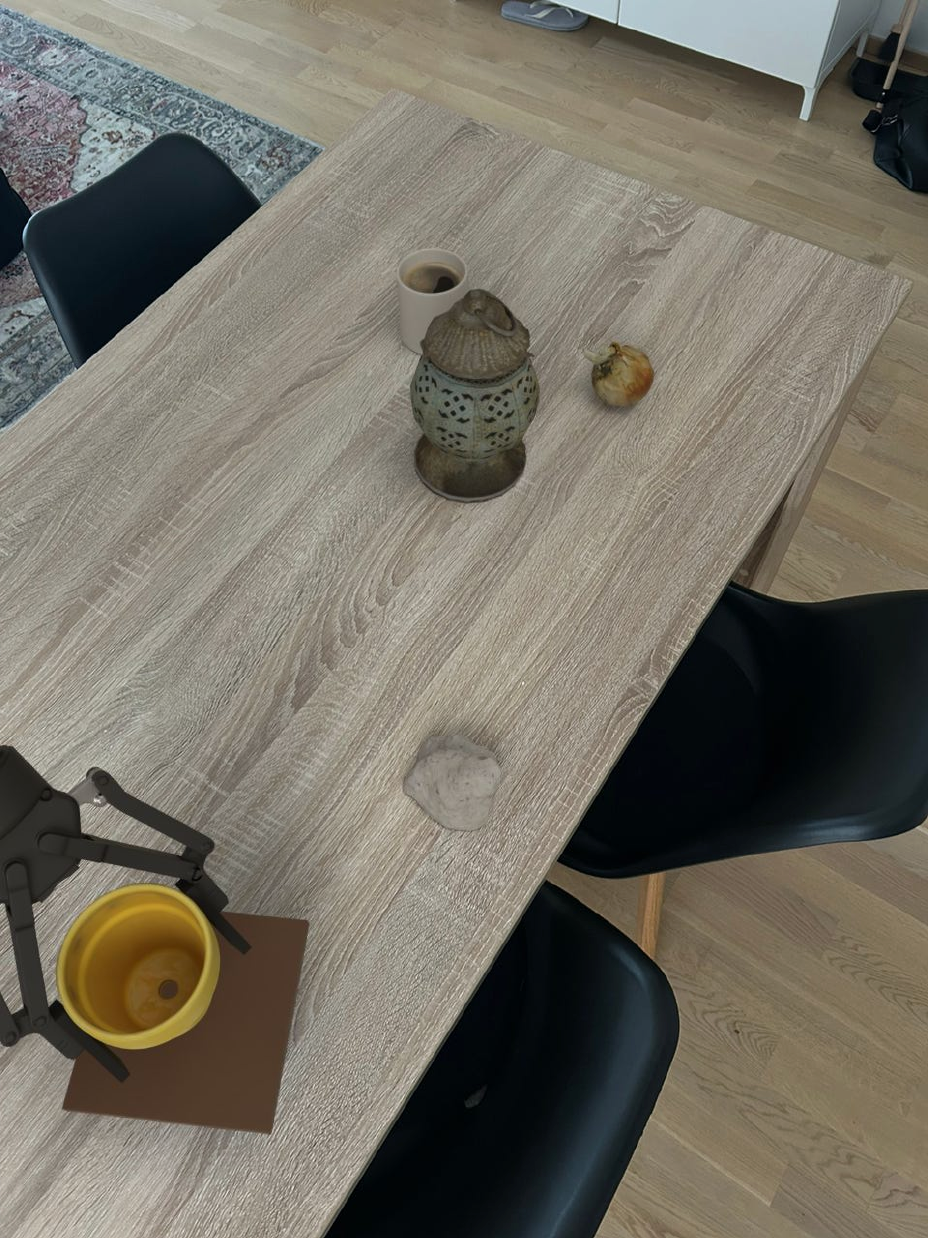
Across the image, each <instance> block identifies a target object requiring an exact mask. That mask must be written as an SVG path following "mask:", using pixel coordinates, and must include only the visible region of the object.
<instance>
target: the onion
mask: <svg viewBox="0 0 928 1238" xmlns="http://www.w3.org/2000/svg"><path fill="white" fill-rule="evenodd" d="M603 346H604V349H603V351H602V353H600V352H597V351H594V350H592V349H590V348H589V347H587V348H585V349H584V350H583V353H582V354H583V357H584V358H585V359H587V361H589V362H590V363H592V364H593V367H592V369H591V373H590V375H591V384H592V388H593V390H594V392H595V394H596V396H597V397H599V399H600V400H602V401H603V402H604V403H606V404H608V405H610V406H612V407H613V406H614V407H627V406H631V405H635V404H636V403H638V402H640V401H641V400H642V399H643V398H644V397H645V398H646V395H647V394H648V392H649V391H650V390H651V387H652V386H653V383H654V380H655V379H654V378H655V371H654V368H653V366H652V363H651V361H650V359H649V357H648V355H646V353H644V352H643V350H641V349H638V348H636V347H634V346H633V345H629V344H624V345H622V344H621V343H620V342H617V341H611V342H610V343H609V345H607V344H604V345H603Z"/></svg>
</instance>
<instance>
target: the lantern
mask: <svg viewBox="0 0 928 1238" xmlns="http://www.w3.org/2000/svg"><path fill="white" fill-rule="evenodd" d="M530 339H531V333H530V330H529V328H526V326H524V324H523V323H522V322H521V321H520V319H518V318H517V317H515V315H514V313H513V311H512V310H511V309H510V307H508V306H507V304H506V303H505V302H504V301H502V300H501V299H500V298H499V297H498V296H496V295H495V294H493V293H491V292H490V291H488V290H486V289H483V288H475V289H471V290H468V292H467V293H466V295H465V296H464V297H463V298H461V299H460V300H458V301H457V302H455V304H454V305H453V306H452V307H451V308H450V309H449V311H447V312H445V313H443V314H440V315H438V316H436V317H434V319H433V321H432V322H431V324H430V325H429V327H428V329H427V332H426V335H425V338H424V339H423V340H421V341H420V346H421V348H422V351H423V354H422V355H421V354H420V356H419V360H418V362H417V365H416V368H415V370H414V373H413V376H412V378H411V381H410V384H409V393H410V394H409V395H410V403H411V404H410V405H411V409H412V415H413V420H414V421H415V422H416V424H417V425H418V427H419V428H420V430H421V431H422V433H423V434H422V435H421V437H420V438H419V439H418V440H417V442H416V446H415V449H414V452H413V461H414V471H415V473H416V475H417V477H418V478H419V480H420V482H421V484H422V485H423V486H425V487H426V489H428V490H429V491H430V492H431V493H432V494H434V495H436V496H438V497H441V498H443V499H445V500H448V501H451V502H456V503H462V504H475V503H485V502H488V501H491V500H494V499H497V498H499V497H502V496H503V495H505V494H506V493H508V492H509V491H510V490H511V489H513V488H514V487H516V485H517V484H518V482H519V480H520V479H521V478H522V477H523V474H524V471H525V467H526V462H527V454H526V453H527V452H526V443H524V441H523V438H524V436H525V434H526V433H527V431H528V429H529V427H530V426H531V425H532V424H531V423H532V422H533V420H534V419H535V416H536V413H537V410H538V408H539V405H540V396H541V395H540V394H541V393H540V392H541V391H540V390H541V389H540V388H541V387H540V383H539V379H538V376H537V373H536V369H535V368H534V365H533V363H532V360H531V358H535V356H536V355H535V354H534V353H533V352H529V351H528V350H529V348H530V346H531V340H530Z"/></svg>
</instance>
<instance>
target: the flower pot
mask: <svg viewBox="0 0 928 1238" xmlns="http://www.w3.org/2000/svg"><path fill="white" fill-rule="evenodd" d="M58 950H59V951H58V953H57V954H58V955H57V958H56V968H55V982H56V989H57V993H58V997H59V999H60V1000H59V1001H60V1003H61V1004H62V1005H63V1006H64V1009H65V1010H66V1012H67V1013H68V1015H69V1016H70V1018H71V1019H72V1020H73V1021H74V1022H75V1023H76V1024H77V1025H78V1026H79V1027H80V1028H81V1029H82V1030H84V1031H85V1032H86V1033H88V1034H89V1035H91V1036H92V1037H94V1038H96V1039H98V1040H100V1041H102V1042H104V1043H106V1044H109V1045H111V1046H115V1047H119V1048H124V1049H144V1048H149V1047H154V1046H157V1045H160V1044H162V1043H165V1042H167V1041H169V1040H171V1039H173V1038H174V1037H177V1036H179V1035H182V1034H184V1033H185V1032H187V1031H189V1030H190V1029H192V1028H193V1027H194V1026H195V1025H196V1024H197V1023H198V1022H199V1021H200V1020H201V1019H202V1017H203V1016H204V1014H205V1013H206V1011H207V1009H208V1007H209V1004H210V1002H211V999H212V995H213V993H214V990H215V987H216V984H217V981H218V976H219V970H220V952H219V946H218V942H217V938H216V935H215V933H214V931H213V929H212V927H211V925H210V923H209V921H208V919H207V918H206V916H205V915H204V914H203V912H202V911H201V910H200V908H199V907H198V906H197V905H196V903H195V902H194V901H193V900H192V899H190V898H189V897H188V896H186V895H185V894H184V893H182V892H181V891H180V890H179V889H178V888H177V889H176V888H174V887H172V886H169V885H166V884H162V883H157V882H156V883H155V882H136V883H131V884H127V885H122V886H120V887H117V888H113V889H111V890H110V891H108V892H106V893H104V894H103V895H101V896H99V897H98V898H96V899H95V900H93V901H92V902H91V903H90V904H88V906H86V908H84V909H83V911H81V912H80V913H79V915H78V916H77V917H76V918H75V919H74V921H73V923H72V924H71V925H70V927H69V928H68V930H67V931H66V933H65V936H64V937H63V939H62V942H61V945H60V947H59V949H58ZM168 982H173V983H175V984H176V986H177V988H178V991H177V994H176V995H175V996H174V997H173V998H171V999H164V998H163V997H162V994H161V990H162V987H163V986H164V985H165V984H166V983H168Z"/></svg>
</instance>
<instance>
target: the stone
mask: <svg viewBox="0 0 928 1238" xmlns="http://www.w3.org/2000/svg"><path fill="white" fill-rule="evenodd" d="M502 776H503V771H502V769H501V767H500V765H499V762H498V759H497V757H496V755H495V753H494V752H493V751H492V750H491V749H489V748H488V746H487V745H478V744H477V743H475V742H474V741H473V740H471V739H470V738H468V737H466V736H463V735H460V734H453V735H444V736H443V735H437V734H435V735H431V736H430V737H425V739H424V742H423V743H422V745H421V747H420V749H419V750H418V752H417V762H416V763H415V765H414V766H413V767H412V768H411V770H410V771H409V772H408V773H407V775H406V777H405V778H404V780H403V783H402V784H403V785H402V790H403V791H404V793H405V795H407V796H410V797H411V798H413V799H414V800H415V801H416V802H417V804H418V805H419V806H420V808H422V809H423V810H424V811H425V812H426V813H427V814H428V815H429V816H430V817H431V818H432V819H433V820H435V821H436V822H437V823H438V824H439V825H441V826H442V827H444V828H446V829H450V830H455V831H467V832H471V831H476V830H478V829H480V828H481V827H482V826H484V824H486V822H487V821H488V819H489V815H490V811H491V809H492V806H493V802H494V798H495V797H494V796H495V793H496V791H497V790H498V788H499V786H500V783H501V780H502Z"/></svg>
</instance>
